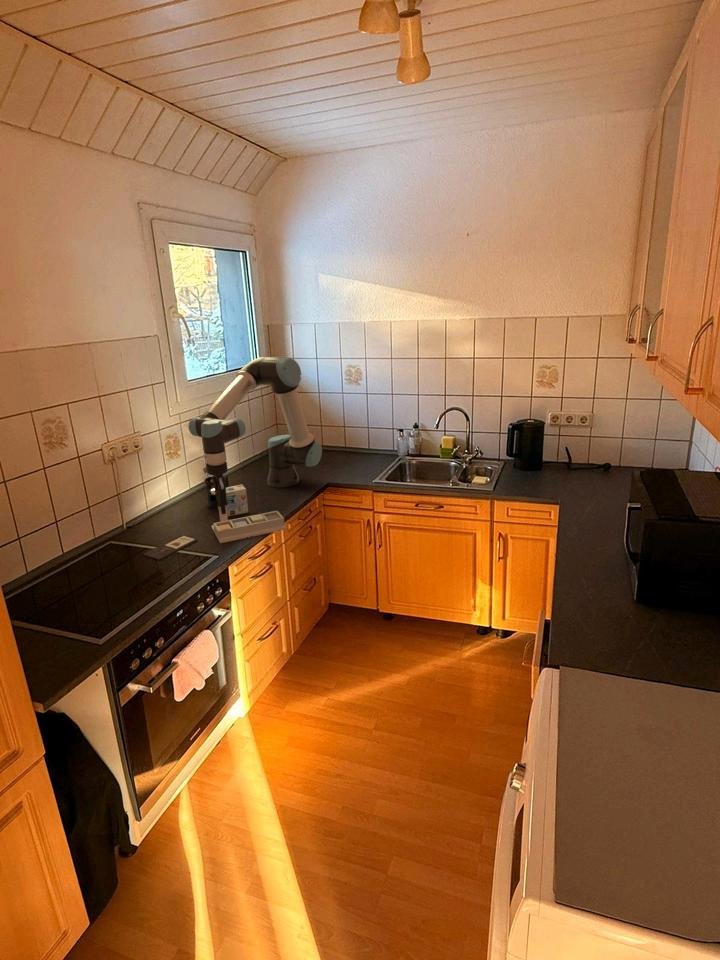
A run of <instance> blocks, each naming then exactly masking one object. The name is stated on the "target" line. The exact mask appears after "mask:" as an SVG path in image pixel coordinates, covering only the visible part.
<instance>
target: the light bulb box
mask: <svg viewBox="0 0 720 960" xmlns="http://www.w3.org/2000/svg"><path fill="white" fill-rule="evenodd" d="M226 499H227V505H226V509H227V516H228V517H230V516H231V517H232V516H236V515H237V516H238V515H243V514H247V513H249V508H248V507H249V506H248V496H247V488H246V487H245V486H244V485H243V484H237V485H233V486H232V485H231V486H229V487H226Z"/></svg>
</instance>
